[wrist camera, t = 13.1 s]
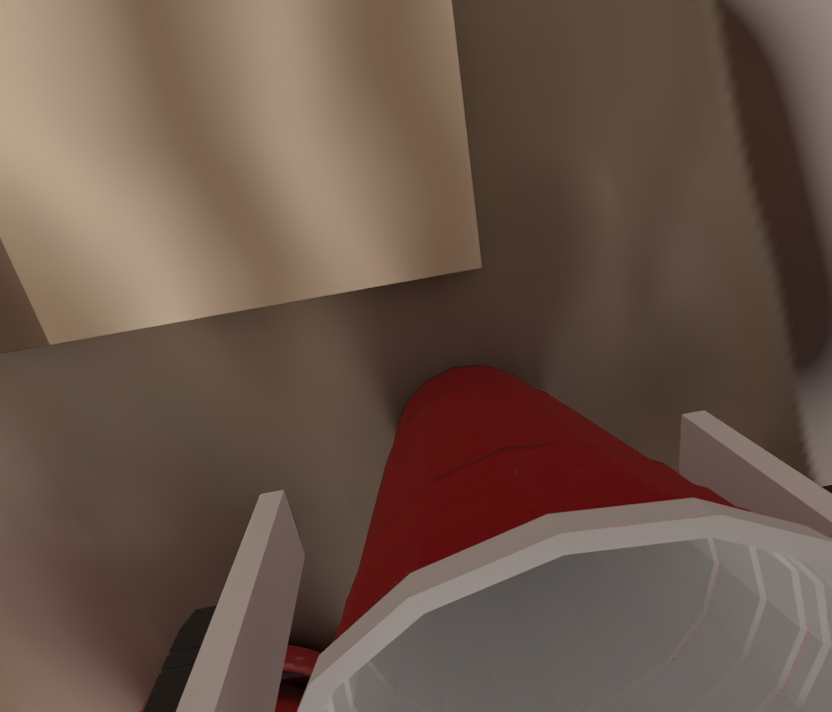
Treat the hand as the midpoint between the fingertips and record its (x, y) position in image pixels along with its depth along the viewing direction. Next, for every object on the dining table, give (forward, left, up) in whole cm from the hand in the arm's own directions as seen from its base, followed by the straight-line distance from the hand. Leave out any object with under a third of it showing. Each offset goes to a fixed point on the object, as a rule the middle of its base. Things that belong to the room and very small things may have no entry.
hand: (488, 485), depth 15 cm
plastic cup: (0, 0, -4) cm, 4 cm away
